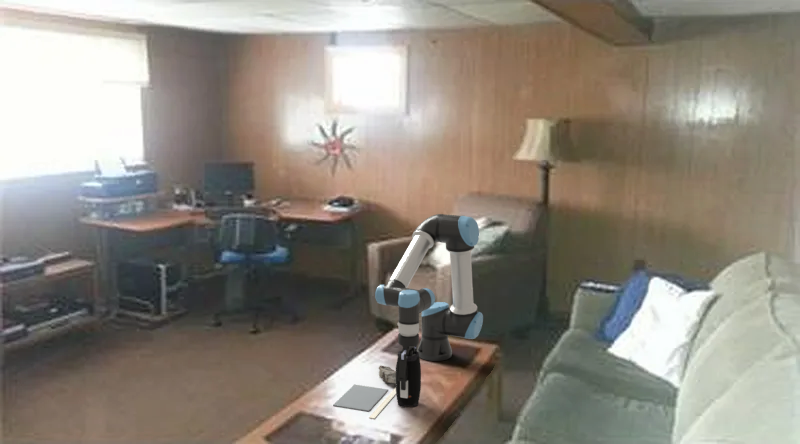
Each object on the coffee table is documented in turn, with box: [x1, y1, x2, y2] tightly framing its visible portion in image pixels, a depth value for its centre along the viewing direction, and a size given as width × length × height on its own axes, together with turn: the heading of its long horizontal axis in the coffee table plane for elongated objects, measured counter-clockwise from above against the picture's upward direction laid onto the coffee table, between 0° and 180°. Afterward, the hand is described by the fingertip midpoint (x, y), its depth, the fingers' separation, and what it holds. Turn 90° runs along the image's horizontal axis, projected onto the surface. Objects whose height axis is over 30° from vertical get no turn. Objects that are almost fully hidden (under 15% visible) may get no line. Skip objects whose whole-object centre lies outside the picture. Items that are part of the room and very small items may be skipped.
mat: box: [332, 384, 389, 412], centre depth 262 cm, size 20×14×1 cm
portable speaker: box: [395, 350, 422, 408], centre depth 256 cm, size 9×9×20 cm
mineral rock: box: [378, 365, 396, 385], centre depth 278 cm, size 15×8×4 cm, turn 15°
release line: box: [368, 387, 397, 420], centre depth 259 cm, size 30×2×1 cm, turn 161°
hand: (408, 392), depth 257 cm, fingers closed on portable speaker, 8 cm apart
